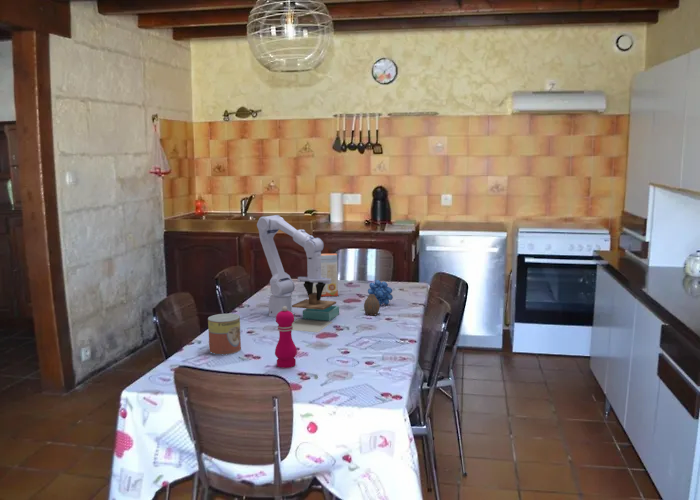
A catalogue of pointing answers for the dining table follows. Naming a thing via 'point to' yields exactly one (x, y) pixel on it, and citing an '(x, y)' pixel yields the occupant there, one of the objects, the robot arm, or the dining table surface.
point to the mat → (309, 325)
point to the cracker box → (329, 274)
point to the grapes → (381, 292)
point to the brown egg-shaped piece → (371, 305)
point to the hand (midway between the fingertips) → (314, 299)
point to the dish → (321, 313)
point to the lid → (314, 303)
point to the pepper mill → (285, 340)
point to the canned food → (224, 333)
